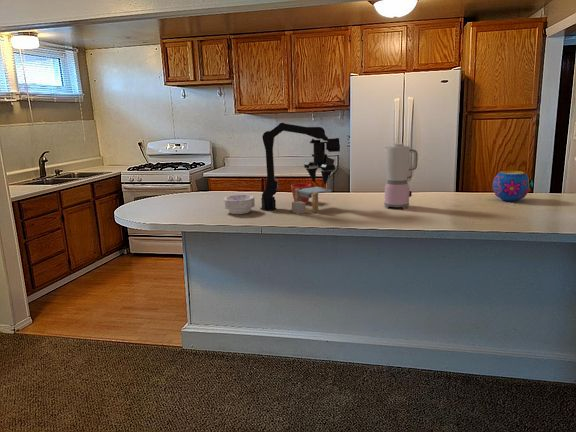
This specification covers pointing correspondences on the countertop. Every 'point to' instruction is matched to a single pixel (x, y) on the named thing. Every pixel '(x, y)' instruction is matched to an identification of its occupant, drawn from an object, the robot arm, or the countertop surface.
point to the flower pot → (300, 186)
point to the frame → (314, 201)
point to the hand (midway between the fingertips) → (319, 183)
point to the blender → (398, 175)
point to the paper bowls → (239, 203)
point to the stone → (298, 207)
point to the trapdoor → (312, 191)
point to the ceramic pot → (511, 185)
